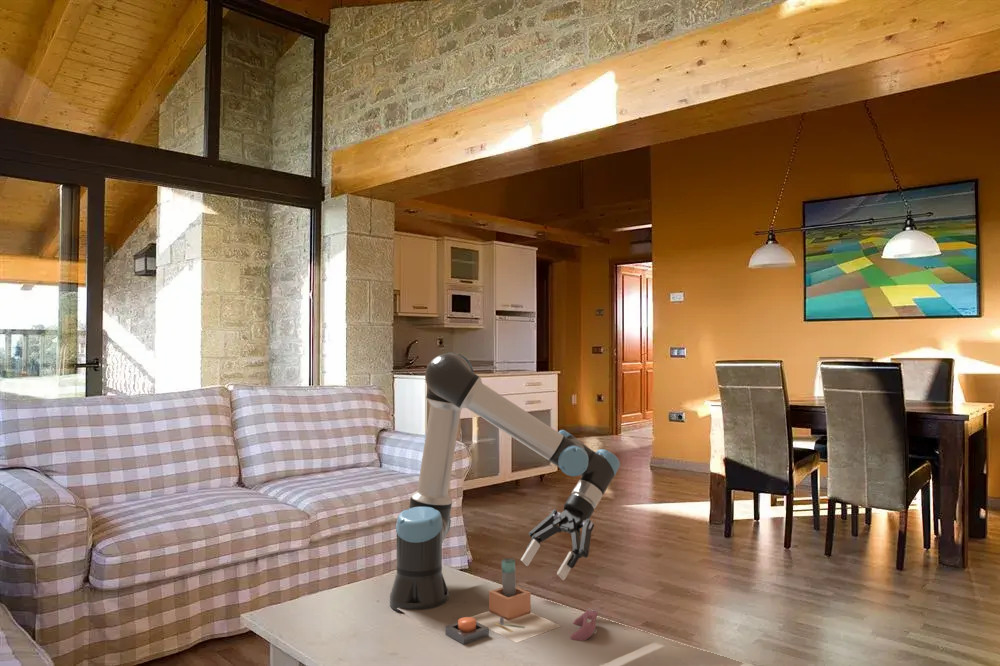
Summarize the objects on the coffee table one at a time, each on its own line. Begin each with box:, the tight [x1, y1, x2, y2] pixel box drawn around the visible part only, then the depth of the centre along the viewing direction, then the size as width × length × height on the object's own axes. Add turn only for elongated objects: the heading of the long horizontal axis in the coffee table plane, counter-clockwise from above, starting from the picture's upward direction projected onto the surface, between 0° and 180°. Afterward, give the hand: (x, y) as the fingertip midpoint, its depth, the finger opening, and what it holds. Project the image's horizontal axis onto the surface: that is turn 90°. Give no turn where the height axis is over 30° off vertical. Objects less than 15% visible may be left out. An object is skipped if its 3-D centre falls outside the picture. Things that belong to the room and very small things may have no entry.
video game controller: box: [569, 608, 598, 641], centre depth 161 cm, size 10×5×7 cm, turn 170°
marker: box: [501, 558, 517, 597], centre depth 172 cm, size 3×3×12 cm
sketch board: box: [470, 610, 562, 644], centre depth 166 cm, size 20×16×1 cm
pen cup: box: [488, 586, 532, 621], centre depth 172 cm, size 7×7×5 cm
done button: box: [457, 616, 476, 633], centre depth 159 cm, size 4×4×2 cm
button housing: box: [445, 622, 490, 646], centre depth 159 cm, size 7×7×3 cm
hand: (541, 570), depth 179 cm, fingers open, 13 cm apart
